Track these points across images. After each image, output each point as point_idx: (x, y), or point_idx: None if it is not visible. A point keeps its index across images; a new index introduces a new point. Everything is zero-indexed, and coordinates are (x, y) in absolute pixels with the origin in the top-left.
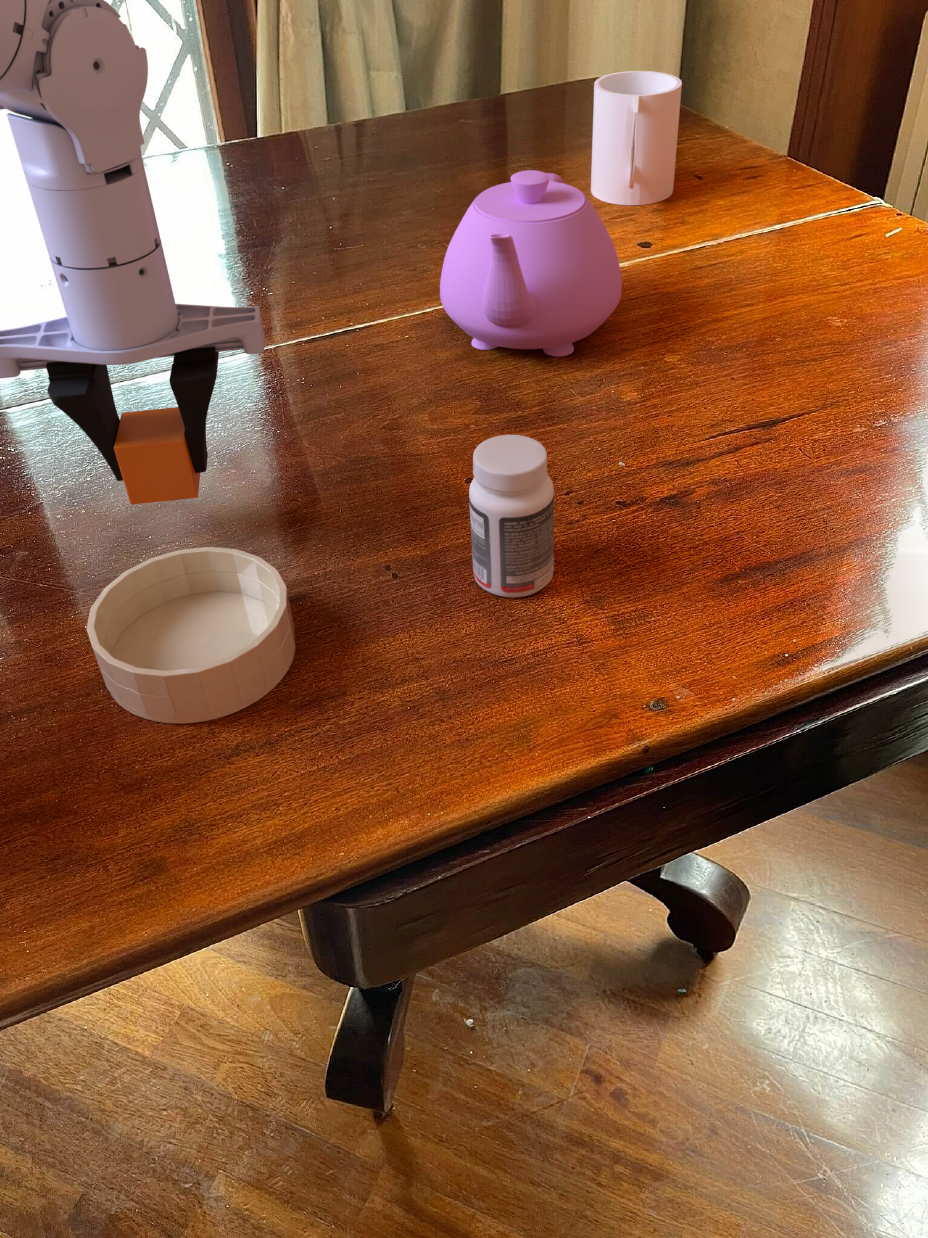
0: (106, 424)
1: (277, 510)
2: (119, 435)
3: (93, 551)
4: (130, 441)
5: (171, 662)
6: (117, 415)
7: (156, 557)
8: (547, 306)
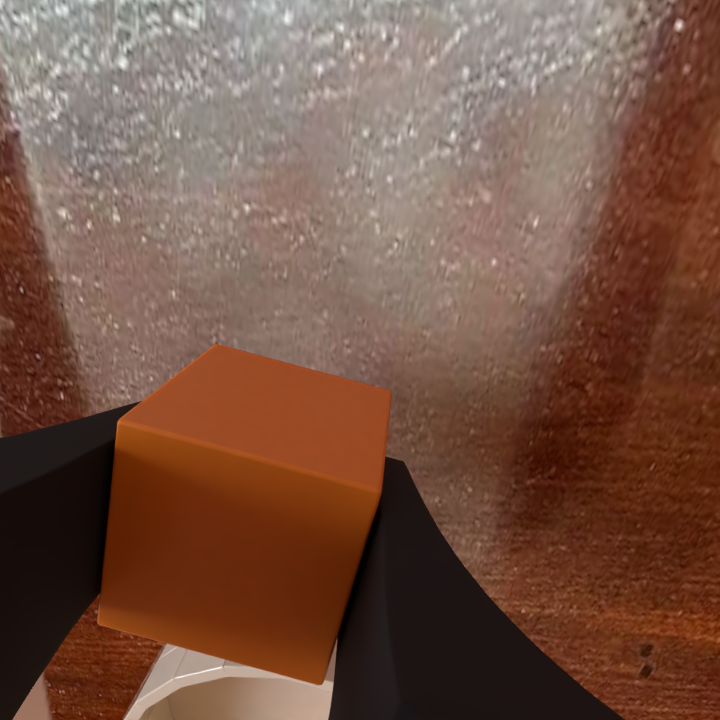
0: (39, 659)
1: (528, 406)
2: (112, 572)
3: (141, 377)
4: (150, 617)
5: (252, 712)
6: (100, 451)
7: (234, 669)
8: None
